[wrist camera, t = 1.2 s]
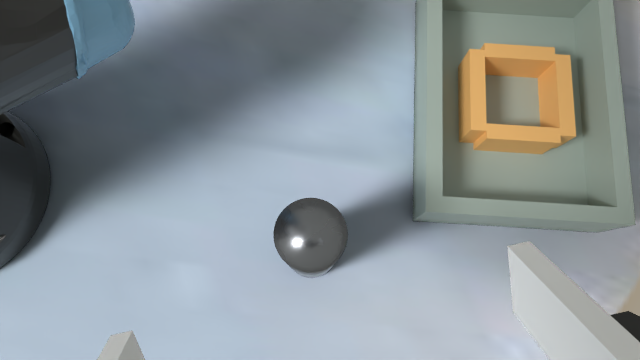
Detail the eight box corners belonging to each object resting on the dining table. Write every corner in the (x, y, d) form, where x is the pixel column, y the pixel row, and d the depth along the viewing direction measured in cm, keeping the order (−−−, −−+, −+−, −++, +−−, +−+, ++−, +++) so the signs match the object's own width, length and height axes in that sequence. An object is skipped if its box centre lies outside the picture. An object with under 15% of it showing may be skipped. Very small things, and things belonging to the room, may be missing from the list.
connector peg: (284, 276, 36) (270, 269, 24) (288, 225, 37) (276, 195, 25) (335, 279, 36) (345, 274, 24) (338, 228, 37) (349, 200, 25)
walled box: (412, 220, 37) (425, 211, 33) (415, 3, 42) (427, -30, 37) (597, 232, 37) (635, 224, 33) (579, 13, 42) (611, -19, 37)
